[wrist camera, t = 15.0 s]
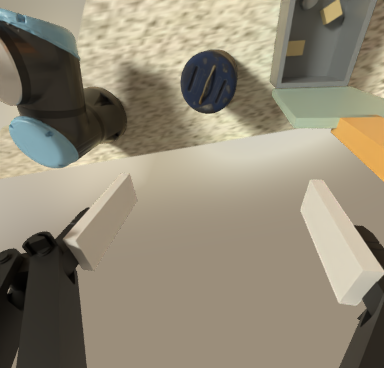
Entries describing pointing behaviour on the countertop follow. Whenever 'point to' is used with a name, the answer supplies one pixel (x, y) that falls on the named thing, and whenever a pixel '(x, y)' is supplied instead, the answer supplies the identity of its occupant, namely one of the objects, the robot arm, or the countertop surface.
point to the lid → (340, 118)
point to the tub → (318, 41)
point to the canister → (209, 81)
